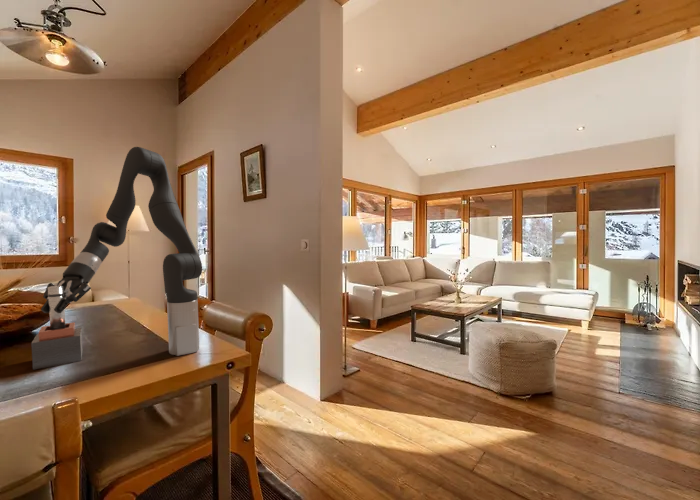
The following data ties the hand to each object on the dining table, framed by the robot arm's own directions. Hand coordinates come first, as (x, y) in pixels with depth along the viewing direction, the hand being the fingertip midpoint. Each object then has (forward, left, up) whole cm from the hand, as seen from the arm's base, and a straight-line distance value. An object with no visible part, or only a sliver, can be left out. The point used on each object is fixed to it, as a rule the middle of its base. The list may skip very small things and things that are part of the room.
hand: (50, 311), depth 101 cm
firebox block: (+1, -1, -16) cm, 16 cm away
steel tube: (+2, -1, -7) cm, 7 cm away
